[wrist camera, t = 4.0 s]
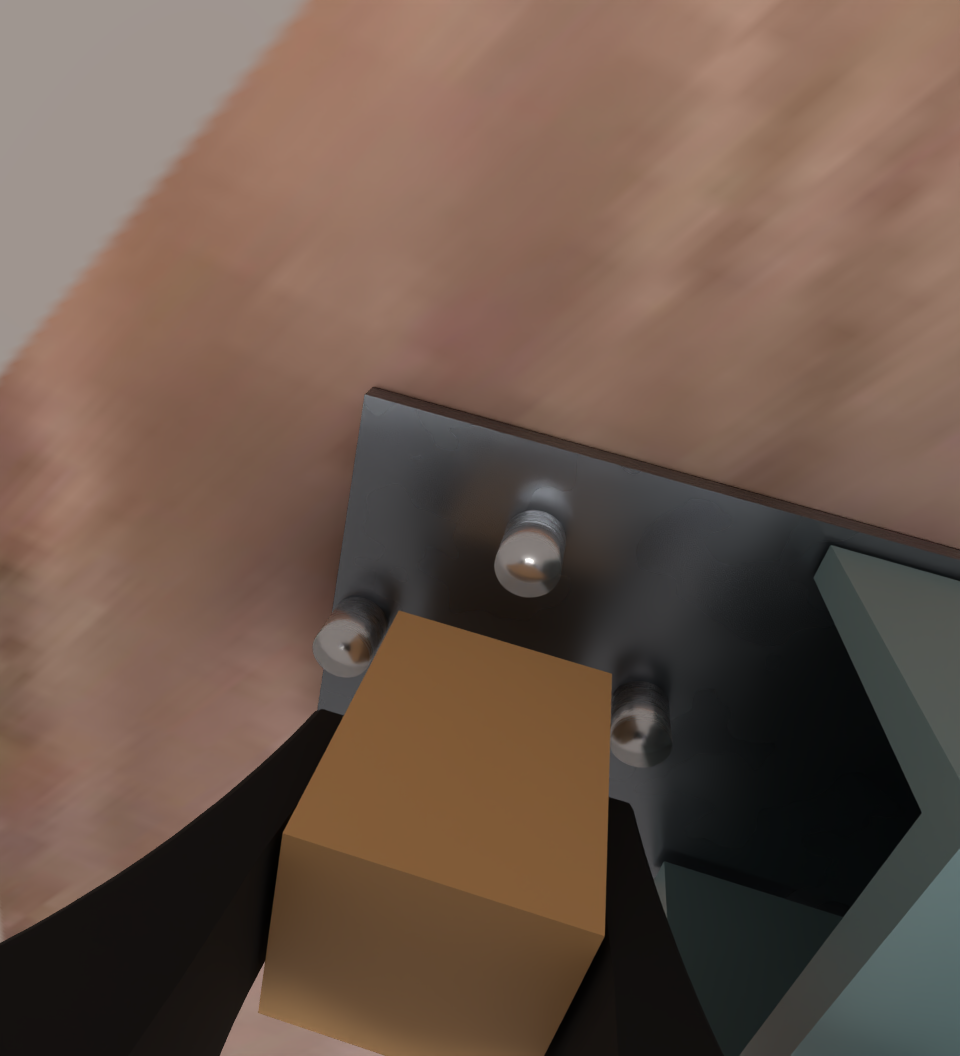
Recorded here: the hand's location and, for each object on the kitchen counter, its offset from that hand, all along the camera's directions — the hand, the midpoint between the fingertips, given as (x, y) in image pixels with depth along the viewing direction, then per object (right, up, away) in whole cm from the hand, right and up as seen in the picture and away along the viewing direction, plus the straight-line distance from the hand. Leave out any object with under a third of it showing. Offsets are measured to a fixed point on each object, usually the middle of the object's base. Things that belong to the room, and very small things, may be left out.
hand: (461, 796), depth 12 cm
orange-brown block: (0, +1, +2) cm, 2 cm away
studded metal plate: (+6, 0, +3) cm, 7 cm away
